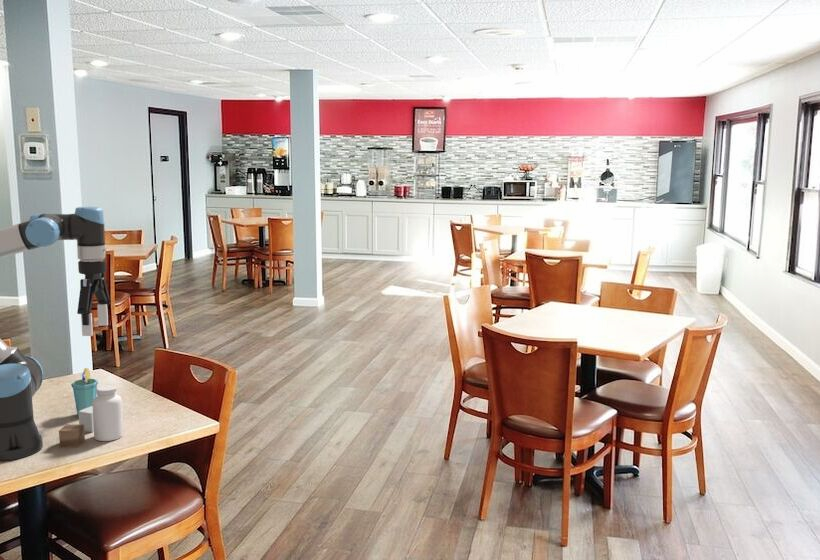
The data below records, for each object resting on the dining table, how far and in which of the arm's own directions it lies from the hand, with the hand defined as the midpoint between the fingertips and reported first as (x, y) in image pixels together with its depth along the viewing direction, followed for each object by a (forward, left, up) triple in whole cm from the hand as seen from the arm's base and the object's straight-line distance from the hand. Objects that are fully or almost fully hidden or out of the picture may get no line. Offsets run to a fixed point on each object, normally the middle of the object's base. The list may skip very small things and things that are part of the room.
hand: (95, 330), depth 218 cm
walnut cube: (-14, 0, -30) cm, 33 cm away
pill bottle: (-7, -7, -30) cm, 32 cm away
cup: (+8, +11, -30) cm, 33 cm away
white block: (-2, +2, -30) cm, 30 cm away
